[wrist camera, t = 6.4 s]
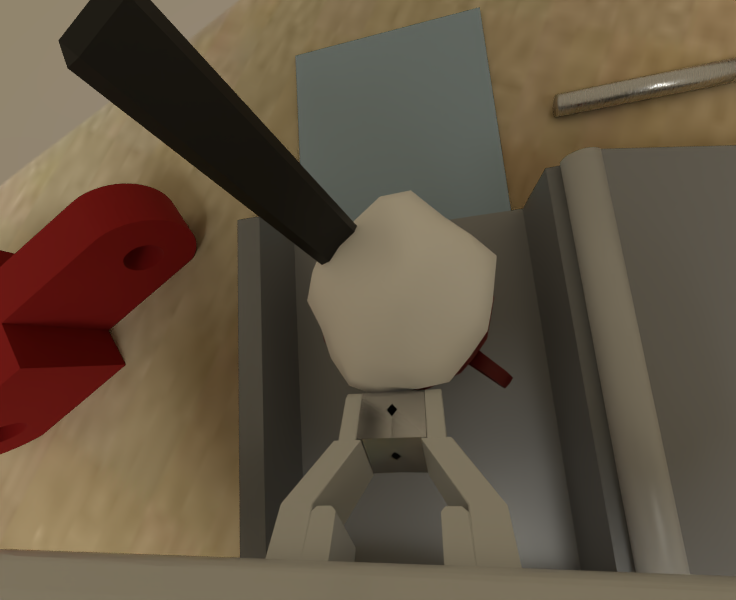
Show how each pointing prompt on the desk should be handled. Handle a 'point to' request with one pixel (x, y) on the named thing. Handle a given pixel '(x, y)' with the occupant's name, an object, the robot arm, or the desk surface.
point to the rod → (646, 87)
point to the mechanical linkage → (79, 300)
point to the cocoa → (304, 210)
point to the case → (540, 375)
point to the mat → (404, 119)
